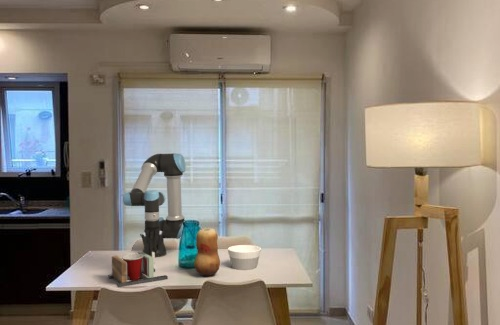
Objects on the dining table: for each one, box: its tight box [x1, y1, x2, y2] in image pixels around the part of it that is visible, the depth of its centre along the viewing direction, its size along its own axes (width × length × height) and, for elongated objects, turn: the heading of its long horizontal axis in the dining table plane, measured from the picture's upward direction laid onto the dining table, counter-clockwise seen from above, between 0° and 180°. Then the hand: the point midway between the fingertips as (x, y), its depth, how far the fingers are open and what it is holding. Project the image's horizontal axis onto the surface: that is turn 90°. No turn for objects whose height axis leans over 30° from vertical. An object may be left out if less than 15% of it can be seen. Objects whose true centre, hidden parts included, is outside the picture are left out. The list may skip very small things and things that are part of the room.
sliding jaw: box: [137, 251, 155, 278], centre depth 247 cm, size 3×16×10 cm, turn 33°
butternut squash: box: [193, 227, 221, 277], centre depth 250 cm, size 14×13×25 cm
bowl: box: [227, 244, 262, 271], centre depth 268 cm, size 19×19×11 cm
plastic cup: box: [121, 253, 144, 281], centre depth 244 cm, size 11×11×12 cm
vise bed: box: [107, 255, 169, 288], centre depth 245 cm, size 25×19×12 cm
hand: (152, 264), depth 249 cm, fingers closed
